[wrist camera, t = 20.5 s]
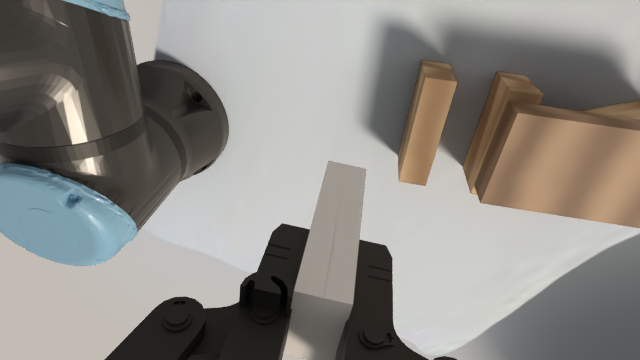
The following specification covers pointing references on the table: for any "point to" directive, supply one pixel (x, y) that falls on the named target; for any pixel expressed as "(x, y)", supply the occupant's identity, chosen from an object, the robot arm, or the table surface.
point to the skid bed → (432, 112)
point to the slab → (564, 164)
